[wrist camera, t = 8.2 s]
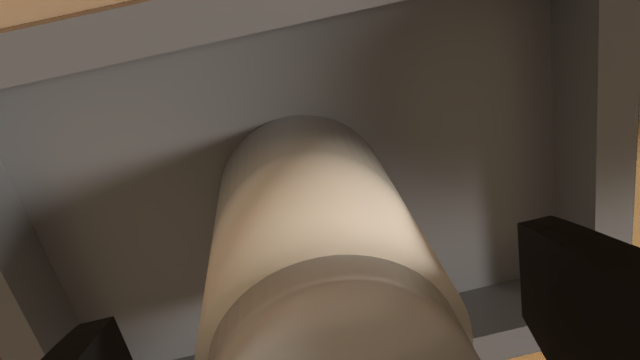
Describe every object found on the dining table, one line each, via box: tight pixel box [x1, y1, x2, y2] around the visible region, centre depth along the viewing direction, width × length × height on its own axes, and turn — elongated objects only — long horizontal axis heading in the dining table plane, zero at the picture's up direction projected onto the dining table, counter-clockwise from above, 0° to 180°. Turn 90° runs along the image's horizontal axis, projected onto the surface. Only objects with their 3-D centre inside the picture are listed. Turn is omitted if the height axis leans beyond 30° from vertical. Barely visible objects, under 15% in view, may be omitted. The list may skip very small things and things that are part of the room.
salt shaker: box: [194, 115, 480, 360], centre depth 11 cm, size 4×4×8 cm
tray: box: [0, 0, 640, 360], centre depth 14 cm, size 11×16×3 cm
